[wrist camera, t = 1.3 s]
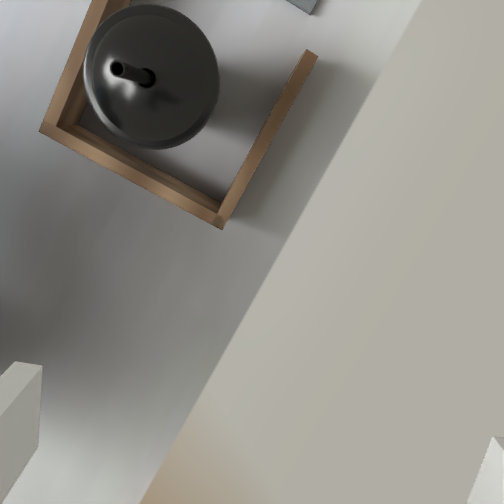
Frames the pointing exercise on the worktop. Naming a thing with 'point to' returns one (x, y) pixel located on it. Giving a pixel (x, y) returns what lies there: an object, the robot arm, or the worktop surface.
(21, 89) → the worktop surface
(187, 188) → the open wooden frame
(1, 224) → the worktop surface
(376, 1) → the worktop surface
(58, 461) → the worktop surface
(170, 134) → the drinking cup
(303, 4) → the mat
